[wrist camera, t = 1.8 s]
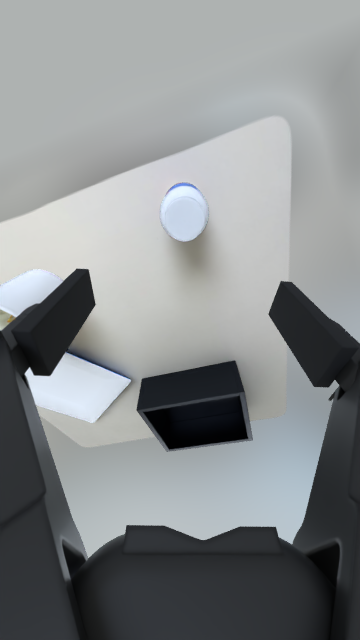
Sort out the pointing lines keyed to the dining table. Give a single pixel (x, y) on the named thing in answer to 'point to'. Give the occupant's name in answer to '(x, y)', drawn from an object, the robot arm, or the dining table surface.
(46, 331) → the robot arm
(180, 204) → the pill bottle
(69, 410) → the plate
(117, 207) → the dining table surface
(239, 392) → the basin
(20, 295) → the candle holder
